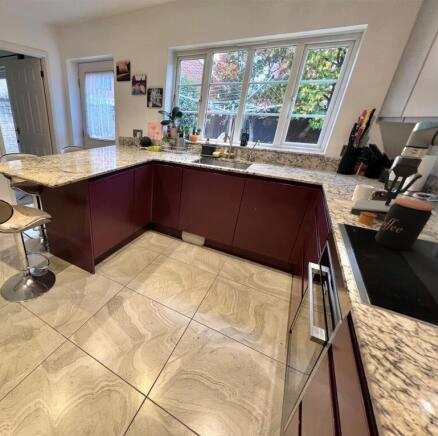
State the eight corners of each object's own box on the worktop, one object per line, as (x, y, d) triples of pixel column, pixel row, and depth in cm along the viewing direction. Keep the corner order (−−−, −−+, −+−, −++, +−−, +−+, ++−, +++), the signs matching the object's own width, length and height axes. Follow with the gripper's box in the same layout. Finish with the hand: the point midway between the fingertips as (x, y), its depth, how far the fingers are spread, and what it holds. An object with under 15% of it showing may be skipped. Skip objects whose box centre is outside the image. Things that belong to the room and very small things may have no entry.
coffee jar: (368, 236, 99) (388, 196, 92) (398, 240, 97) (421, 200, 89) (383, 248, 90) (406, 205, 82) (417, 253, 87) (444, 210, 80)
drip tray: (391, 214, 124) (394, 208, 122) (389, 224, 111) (392, 218, 110) (355, 205, 134) (357, 200, 132) (349, 214, 121) (351, 208, 120)
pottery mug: (394, 207, 136) (395, 196, 132) (373, 211, 140) (374, 200, 136) (383, 195, 145) (384, 185, 141) (364, 200, 149) (364, 189, 145)
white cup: (369, 204, 136) (377, 188, 132) (353, 202, 138) (360, 186, 134) (362, 200, 143) (370, 185, 139) (347, 198, 145) (354, 183, 141)
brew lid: (399, 203, 120) (399, 202, 120) (397, 212, 108) (398, 211, 108) (357, 200, 132) (357, 199, 132) (352, 208, 120) (352, 207, 120)
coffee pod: (374, 227, 108) (379, 217, 106) (360, 225, 109) (364, 215, 107) (367, 222, 113) (372, 212, 111) (354, 220, 114) (358, 210, 112)
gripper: (391, 155, 109) (369, 202, 119) (432, 160, 100) (404, 210, 110) (392, 154, 114) (370, 199, 124) (431, 158, 105) (404, 206, 115)
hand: (386, 204), depth 117 cm, fingers closed
